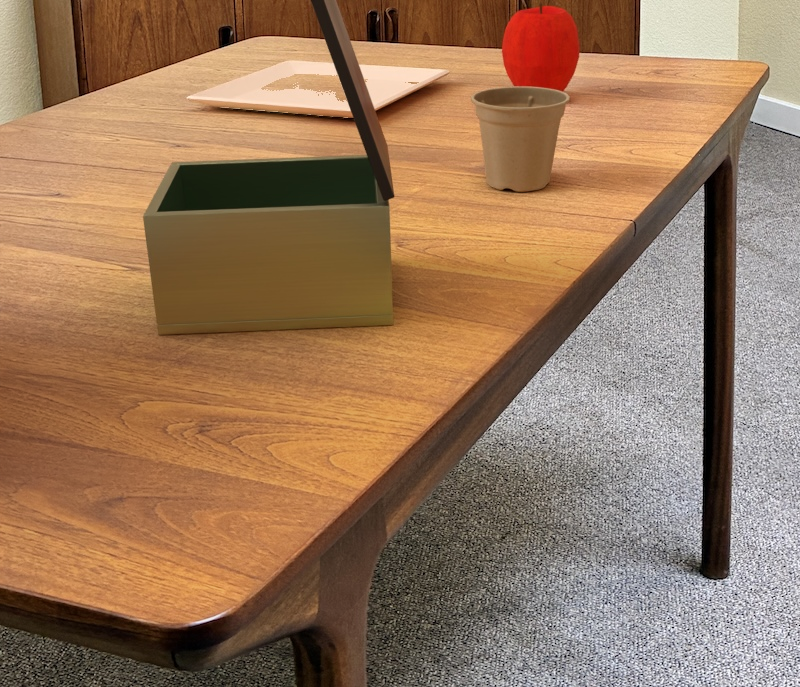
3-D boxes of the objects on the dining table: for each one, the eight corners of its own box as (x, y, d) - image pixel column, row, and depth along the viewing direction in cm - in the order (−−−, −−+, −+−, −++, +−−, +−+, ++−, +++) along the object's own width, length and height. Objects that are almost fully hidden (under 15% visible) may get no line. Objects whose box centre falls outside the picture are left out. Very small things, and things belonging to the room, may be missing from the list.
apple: (517, 89, 149) (519, -5, 144) (588, 94, 145) (592, -2, 140) (489, 105, 141) (490, 6, 136) (563, 111, 137) (567, 9, 132)
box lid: (289, -57, 67) (418, -105, 67) (298, -73, 80) (407, -114, 79) (383, 201, 75) (501, 161, 74) (378, 149, 87) (478, 114, 86)
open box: (158, 335, 78) (142, 215, 74) (183, 267, 90) (171, 161, 87) (393, 325, 78) (389, 206, 75) (386, 258, 91) (383, 153, 87)
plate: (288, 73, 163) (287, 59, 162) (451, 84, 153) (451, 69, 152) (185, 112, 142) (184, 96, 141) (368, 127, 132) (367, 110, 131)
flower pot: (586, 181, 109) (590, 94, 105) (526, 204, 103) (527, 112, 99) (512, 165, 115) (513, 82, 111) (451, 185, 109) (450, 98, 105)
